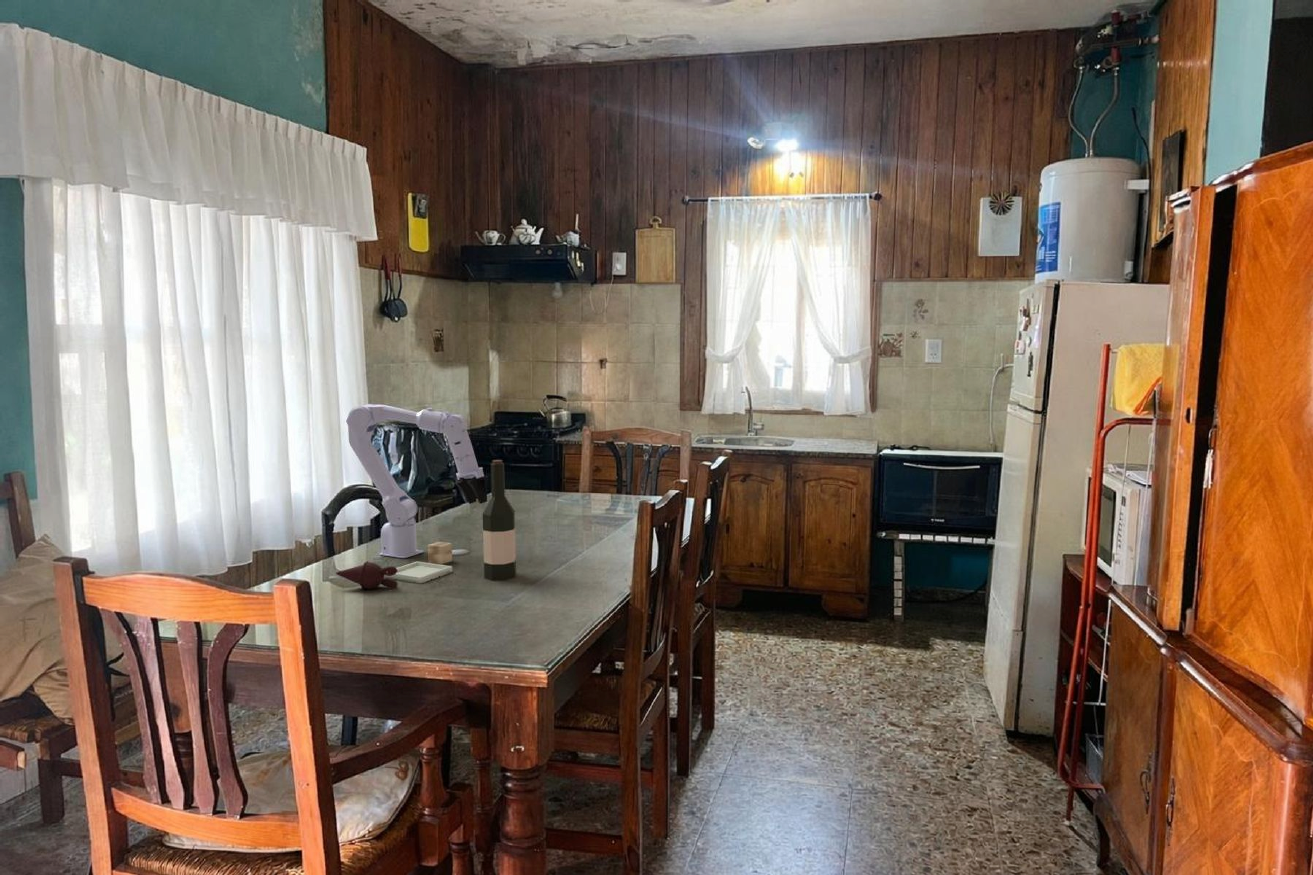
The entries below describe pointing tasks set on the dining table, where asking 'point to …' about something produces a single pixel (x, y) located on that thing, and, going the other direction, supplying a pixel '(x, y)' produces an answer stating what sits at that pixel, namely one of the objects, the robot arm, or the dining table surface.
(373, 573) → the icecream
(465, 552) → the pad
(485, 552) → the wine bottle
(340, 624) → the dining table surface
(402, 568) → the tray
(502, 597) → the dining table surface
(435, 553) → the block
